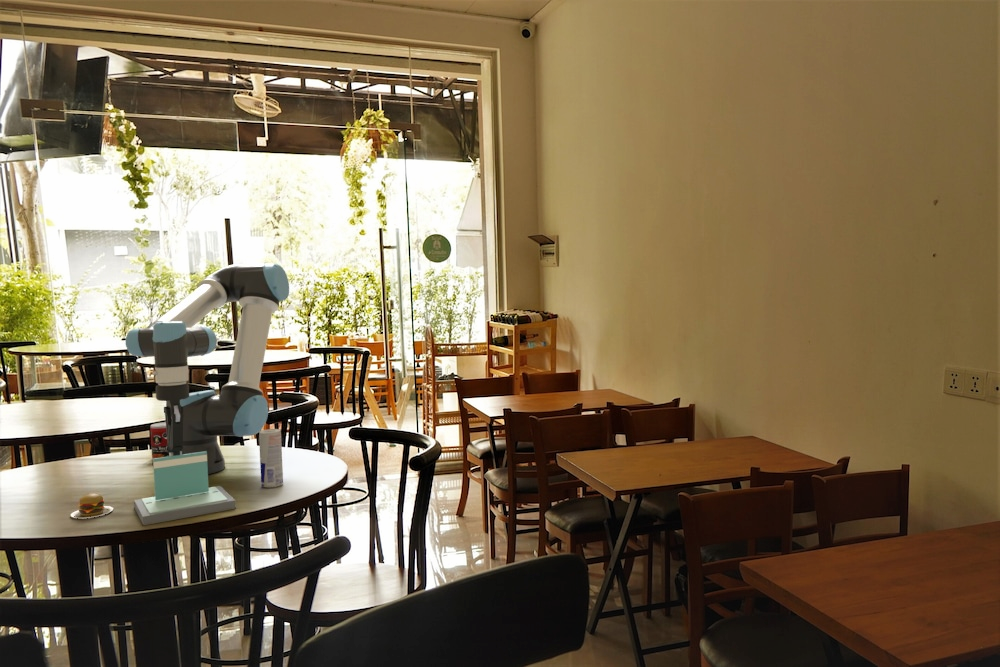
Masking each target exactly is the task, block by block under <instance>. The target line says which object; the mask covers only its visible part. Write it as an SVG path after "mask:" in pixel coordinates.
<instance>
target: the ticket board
mask: <svg viewBox="0 0 1000 667" xmlns="http://www.w3.org/2000/svg"><path fill="white" fill-rule="evenodd" d="M133 506H134V510H135V512H136V514H137V516H138V518H139V519H140V522H141V524H142V525H143V526H147V525H152V524H158V523H164V522H169V521H174V520H180V519H187V518H191V517H195V516H196V517H197V516H203V515H208V514H214V513H218V512H223V511H228V510H234V509H236V507H237V506H236V499H235V498H234V497H233V496H232V495H230V494H229V492H227V491H226V490H225V489H224V488H223V487H222V486H221V485H216V486H211V487H209V492H203V493H197V494H191V495H185V496H179V497H173V498H167V499H161V500H155V496H151V497H143V498H138V499H134V500H133Z"/></svg>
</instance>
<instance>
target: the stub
mask: <svg viewBox="0 0 1000 667" xmlns="http://www.w3.org/2000/svg"><path fill="white" fill-rule="evenodd" d="M152 464H153V465H152V466H153V483H154V484H153V485H154V497H155V500H161V499H167V498H173V497H179V496H185V495H191V494H197V493H203V492H209V474H208V466H207V452H206V451H204V452H197V453H190V454H182V455H175V456H168V457H160V458H152Z"/></svg>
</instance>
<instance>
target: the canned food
mask: <svg viewBox="0 0 1000 667" xmlns="http://www.w3.org/2000/svg"><path fill="white" fill-rule="evenodd" d="M150 445H151V447H150V448H151V458H152V459H153V458H160V457H168V456H169V453H168V452H167V450H169V449H168V448H169V447H168V446H167V431H166V422H165V421H164V422H157V423H153V424H151V425H150Z"/></svg>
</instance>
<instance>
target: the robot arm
mask: <svg viewBox="0 0 1000 667" xmlns="http://www.w3.org/2000/svg"><path fill="white" fill-rule="evenodd" d="M289 293H290V283H289V277H288V275H287V273H286V271H285V269H284V268H283V267H282V266H281V265H280V264H279V263H271V262H270V263H268V262H264V263H246V264H245V263H242V264H240V263H238V264H237V263H236V264H235V263H234V264H230V265H226V266H224V267H221V268H219V269H218V270H216V271H214V272H212V273H210V274H209V275H207V276H205V277H204V278H203V279H201V281H199V282H198V284H197V286H196V288H195V289H194V290H193V291H192V292H191V293H189V294H188V295H187V296H185V297H184V298H183V299H181V300H180V301H179V302H178V303H176V304H175V305H173V307H171V308H170V309H169V310H167V311H166V312H165V313H163V314H162V315H161V316H160V317H158V318H157V319H155V320H154V321H153V322H152V323H151V324H149V325H148V326H146V327H138V328H132V329H131V330H130V331H128V332H127V335H126V337H125V347H126V349H127V352H128V353H129V354H130V355H131V356H134V357H144V358H147V357H149V358H150V357H154V371H152V372H151V373H152V375H153V376H155V377H154V379H155V383H156V384H157V385H155V399H156V400H157V401H161V402H165V403H166V404H165V406H163V413H164V419H165V421H164V422H166V431H167V446H168V447H169V448H168V449H169V450H167V452H168V453H169V456H175V455H182V454H190V453H197V452H204V451H206V452H207V466H208V475H211V474H214V473H218V472H220V471H223V470H224V469H225V468H226V463H225V462H226V460H225V458H224V455H223V453H222V450H221V448H220V446H219V443H218V437H219V436H221V437H225V436H226V437H228V436H229V437H240V438H241V437H250V436H251V437H252V436H255V435H257V434H258V433H259V432H260V431H262V430H263V428H264V427H265V425H266V422H267V420H268V417H269V416H268V415H269V407H268V406H269V403H268V401H267V399H266V397H264V392H263V390H262V389H261V388H260V382H261V377H262V376H261V375H262V372H263V371H262V370H263V367H264V361H265V360H264V359H265V355H266V349H267V343H268V338H269V331H270V326H271V323H272V322H271V321H272V316H273V313H274V312H276V311H278V309H279V306H280V302H284V301H286V300H287V299H288V297H289ZM233 302H238V304H239V305H240V306H241V307H242V311H241V316H240V322H239V327H238V331H237V337H236V341H235V346H234V352H233V357H232V363H231V368H230V371H229V372H230V373H229V377H228V382H227V383H225V384H224V385H222V387H221V390H220V395H217V394H216V392H215V390H214V389H210V390H209V389H208V390H203V391H202V390H201V391H195V392H194V391H193V392H190V386H189V383H188V382H189V379H190V378H189V377H190V376H189V363H188V358H190V357H199V356H202V357H203V356H205V355H208V354H211V353H212V352H214V350H215V349H216V347H217V344H218V338H217V336H216V333H215V332H214V331H213V329H211V328H210V327H207V326H206V327H205V326H196V327H194V326H195V325H196V324H197V323H199V322H200V321H201V320H202V319H203V318H205V317H206V316H207V315H208V314H209V313H211V312H212V311H213V310H214V309H216V308H217V309H218V308H221V307H222V306H224V305H225V304H229V303H233Z"/></svg>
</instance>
